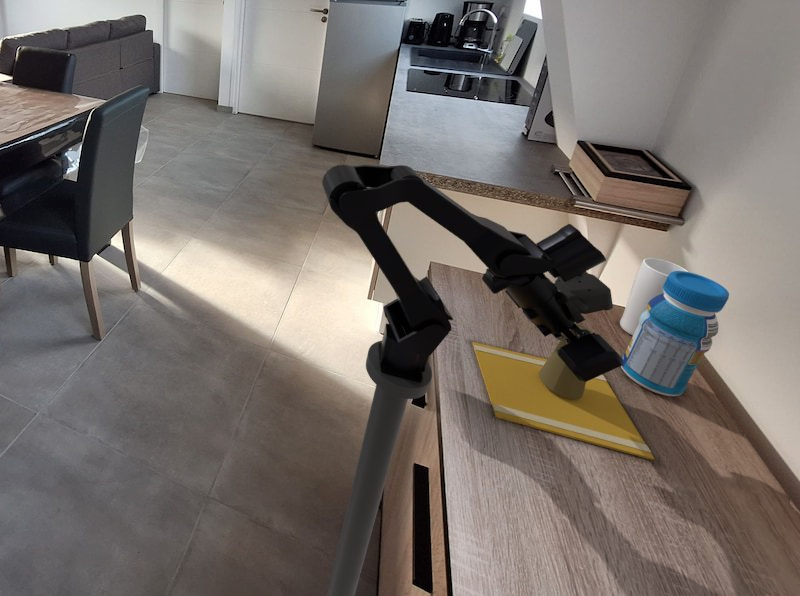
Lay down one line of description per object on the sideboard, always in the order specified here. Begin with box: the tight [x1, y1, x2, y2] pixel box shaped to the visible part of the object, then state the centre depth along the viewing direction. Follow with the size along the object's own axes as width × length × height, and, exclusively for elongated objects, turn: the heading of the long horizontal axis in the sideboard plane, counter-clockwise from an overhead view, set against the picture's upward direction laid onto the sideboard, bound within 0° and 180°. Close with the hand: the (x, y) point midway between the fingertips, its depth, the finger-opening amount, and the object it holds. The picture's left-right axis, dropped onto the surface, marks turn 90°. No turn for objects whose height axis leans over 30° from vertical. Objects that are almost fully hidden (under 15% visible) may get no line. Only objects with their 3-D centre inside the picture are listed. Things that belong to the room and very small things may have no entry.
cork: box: [539, 324, 595, 399], centre depth 73 cm, size 6×6×11 cm
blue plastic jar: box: [620, 271, 730, 397], centre depth 75 cm, size 8×8×20 cm
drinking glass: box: [619, 257, 690, 337], centre depth 86 cm, size 7×7×15 cm
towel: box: [471, 341, 655, 461], centre depth 74 cm, size 20×16×1 cm
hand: (582, 354), depth 73 cm, fingers closed on cork, 5 cm apart
